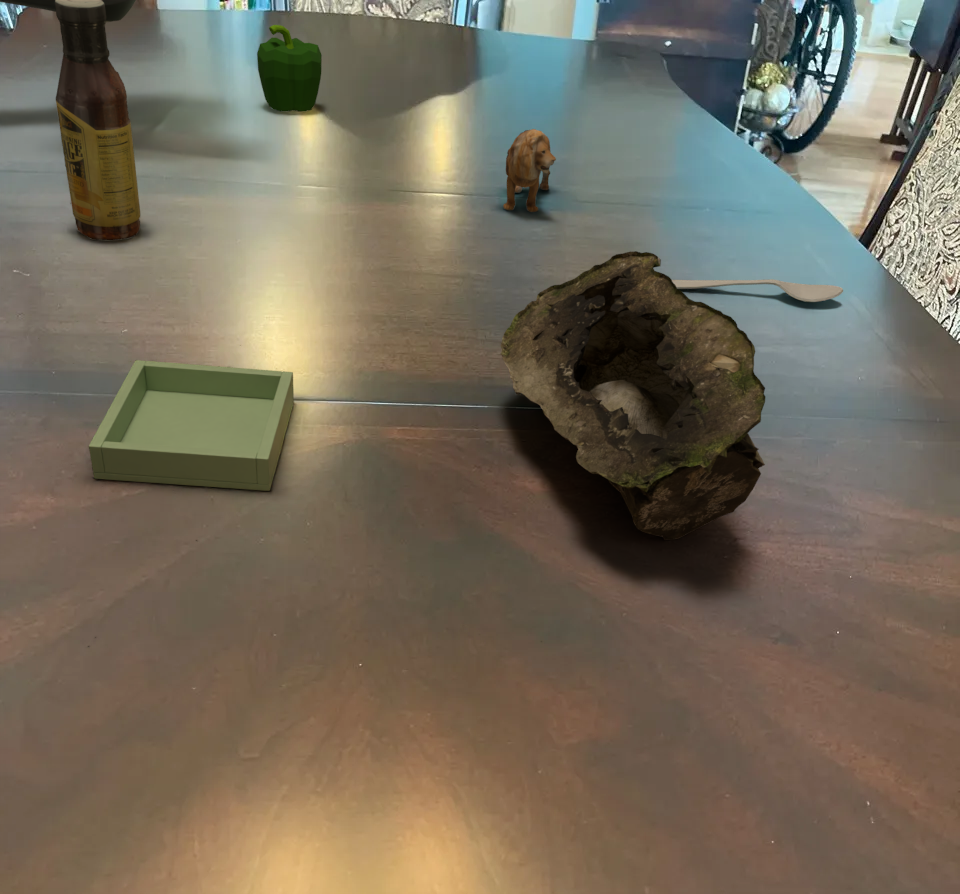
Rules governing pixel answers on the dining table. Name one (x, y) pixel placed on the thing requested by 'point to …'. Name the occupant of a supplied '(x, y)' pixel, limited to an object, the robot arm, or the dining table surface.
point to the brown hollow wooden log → (644, 390)
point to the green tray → (195, 426)
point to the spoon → (793, 289)
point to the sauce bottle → (95, 127)
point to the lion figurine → (528, 167)
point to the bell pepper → (289, 72)
